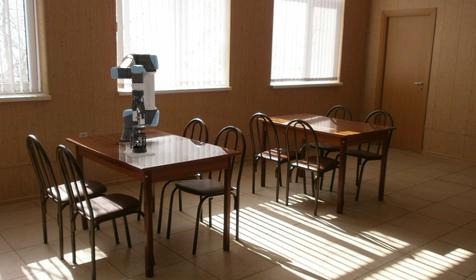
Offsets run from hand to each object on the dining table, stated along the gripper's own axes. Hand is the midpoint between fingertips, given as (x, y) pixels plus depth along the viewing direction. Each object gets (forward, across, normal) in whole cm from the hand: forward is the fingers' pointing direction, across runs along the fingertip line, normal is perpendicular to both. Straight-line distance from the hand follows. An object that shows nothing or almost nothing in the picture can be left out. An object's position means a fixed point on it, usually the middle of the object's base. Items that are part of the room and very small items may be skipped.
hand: (138, 122), depth 302 cm
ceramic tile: (+21, 0, 0) cm, 21 cm away
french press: (+20, +1, 0) cm, 20 cm away
